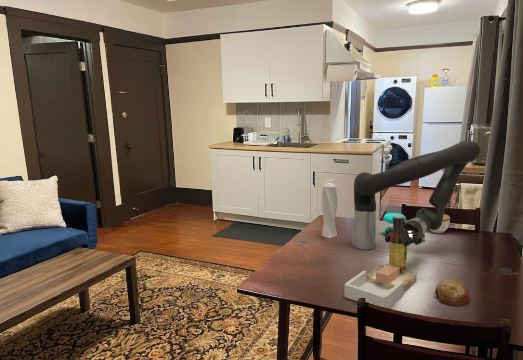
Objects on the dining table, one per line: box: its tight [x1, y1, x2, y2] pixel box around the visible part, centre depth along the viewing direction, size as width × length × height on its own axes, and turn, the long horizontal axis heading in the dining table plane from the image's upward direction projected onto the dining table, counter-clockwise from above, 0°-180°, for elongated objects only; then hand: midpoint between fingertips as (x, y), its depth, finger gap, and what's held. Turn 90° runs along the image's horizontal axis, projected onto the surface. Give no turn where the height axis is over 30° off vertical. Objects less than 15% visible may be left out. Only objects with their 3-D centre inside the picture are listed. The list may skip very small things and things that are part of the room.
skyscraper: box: [321, 178, 338, 238], centre depth 185 cm, size 8×8×28 cm
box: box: [343, 270, 404, 309], centre depth 130 cm, size 15×14×4 cm
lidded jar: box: [429, 213, 451, 234], centre depth 190 cm, size 11×11×9 cm
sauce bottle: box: [388, 214, 408, 272], centre depth 140 cm, size 7×6×20 cm
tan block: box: [383, 263, 400, 279], centre depth 138 cm, size 4×4×3 cm
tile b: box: [376, 268, 394, 284], centre depth 135 cm, size 4×4×3 cm
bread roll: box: [434, 279, 470, 306], centre depth 126 cm, size 10×10×8 cm
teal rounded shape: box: [382, 212, 407, 235], centre depth 186 cm, size 10×10×10 cm
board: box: [367, 264, 417, 294], centre depth 139 cm, size 14×12×2 cm
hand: (395, 241), depth 138 cm, fingers closed on sauce bottle, 6 cm apart
